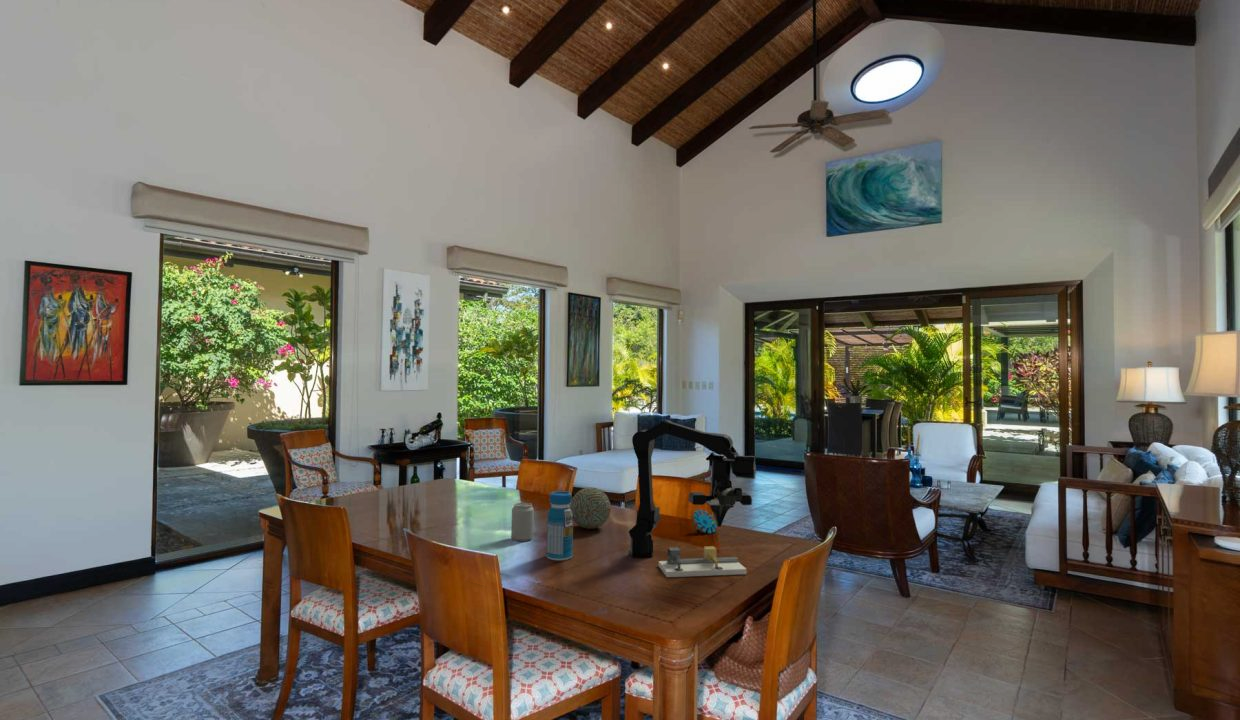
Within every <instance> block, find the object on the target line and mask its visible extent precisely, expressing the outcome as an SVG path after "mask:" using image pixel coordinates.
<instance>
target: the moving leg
mask: <svg viewBox="0 0 1240 720" xmlns="http://www.w3.org/2000/svg"><path fill="white" fill-rule="evenodd" d="M703 558H706V559H711V560H712V561H713V562H714V563H715V567H718V561H717V560H716V558H717V548H716V547H715V546H714V545H712V546H710V545H709V546H703Z"/></svg>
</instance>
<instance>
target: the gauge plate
mask: <svg viewBox="0 0 1240 720" xmlns="http://www.w3.org/2000/svg"><path fill="white" fill-rule="evenodd" d="M680 565H681V567H680V568H678V565H677V564H667V560H660V561H659V560H658V567H659V569H660V570H661V571H662V573H663V574H664V576H665V577H666V578H678V577H679V578H680V577H683V578H684V577H705V576H706V577H707V576H708V577H709V576H731V575H733V576H734V575H747V567H745V566H743V565H742V564H741V563H740V562H739V561H738V562H723V563H718V567H715V563H693V564H680Z"/></svg>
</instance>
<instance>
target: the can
mask: <svg viewBox="0 0 1240 720" xmlns="http://www.w3.org/2000/svg"><path fill="white" fill-rule="evenodd" d="M534 511H535V509H534V507H533V504H532V503H530V502H515V503H514V504H513V507H512V508H511V527H510V528H511V532H510V533H511V534H510V535H511V536H510V537H511V538H512V539H513V541H516V542H527V541H531V539H532V538H533V537H534V514H535V513H534Z"/></svg>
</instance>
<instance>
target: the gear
mask: <svg viewBox="0 0 1240 720" xmlns="http://www.w3.org/2000/svg"><path fill="white" fill-rule="evenodd" d="M708 513H709V512H708V511H707V510H704V511H703V509H698V510H695V511H694V514H693V515H692V518H693V523H694V524H697V525H696V530H697V531H699V530H700V529H701V528H702V530H701V531H702V533H707V534H709V535H711V534H713V533H715V532H716V529H717V528H718V526H717V524H716V521H715V519H712V518H713V515H712V514H709V515H707V514H708Z"/></svg>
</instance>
